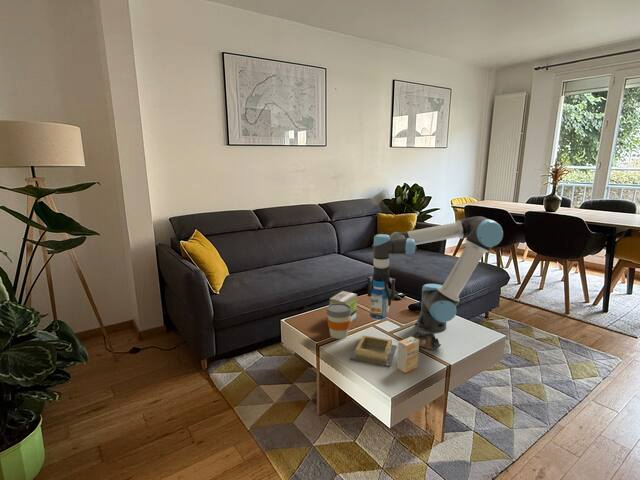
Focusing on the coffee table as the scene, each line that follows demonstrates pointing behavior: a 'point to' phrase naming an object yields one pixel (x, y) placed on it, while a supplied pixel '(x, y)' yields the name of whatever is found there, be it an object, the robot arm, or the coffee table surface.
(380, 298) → the beverage bottle
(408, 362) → the supplement box
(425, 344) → the bison figurine
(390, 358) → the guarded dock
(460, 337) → the coffee table surface
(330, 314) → the reusable coffee cup
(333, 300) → the tea box
